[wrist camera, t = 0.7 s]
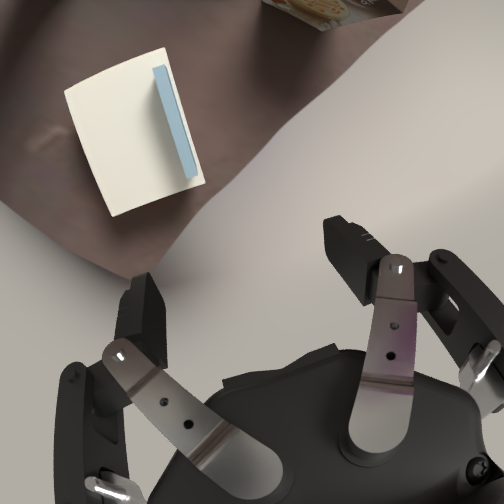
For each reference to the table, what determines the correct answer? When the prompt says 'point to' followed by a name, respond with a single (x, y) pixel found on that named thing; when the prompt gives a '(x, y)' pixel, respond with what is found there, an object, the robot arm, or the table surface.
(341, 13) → the coffee box
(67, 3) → the table surface
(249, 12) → the table surface
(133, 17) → the table surface
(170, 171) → the lid
